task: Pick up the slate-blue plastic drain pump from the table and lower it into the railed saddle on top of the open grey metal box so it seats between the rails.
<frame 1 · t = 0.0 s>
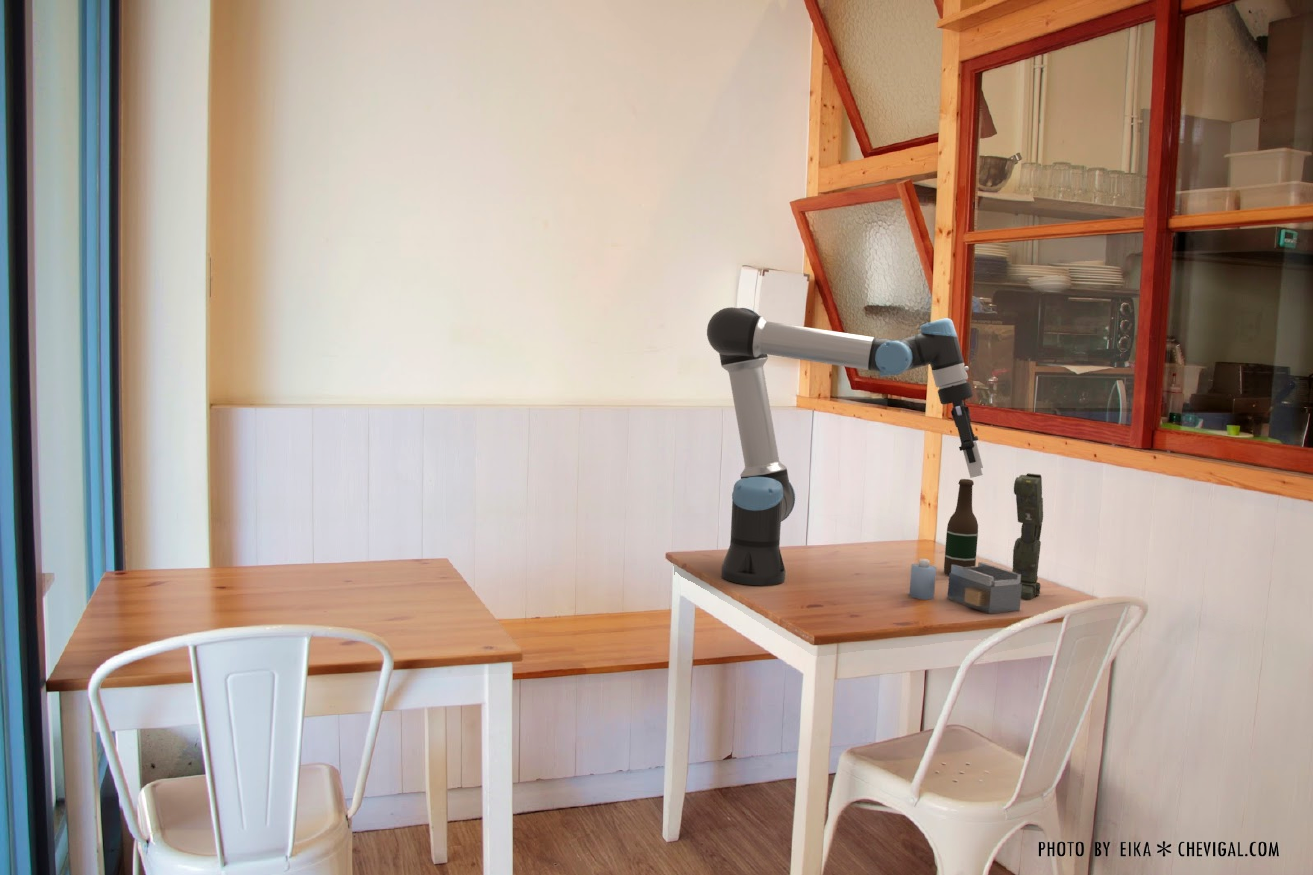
hand: (977, 472, 246), 28 cm above the table, tool tilted 20°, fingers open, 13 cm apart
mechanical leg: (1022, 595, 247), on the table
pump: (921, 596, 241), on the table
open grey metal box: (982, 604, 236), on the table
beer bottle: (959, 575, 264), on the table
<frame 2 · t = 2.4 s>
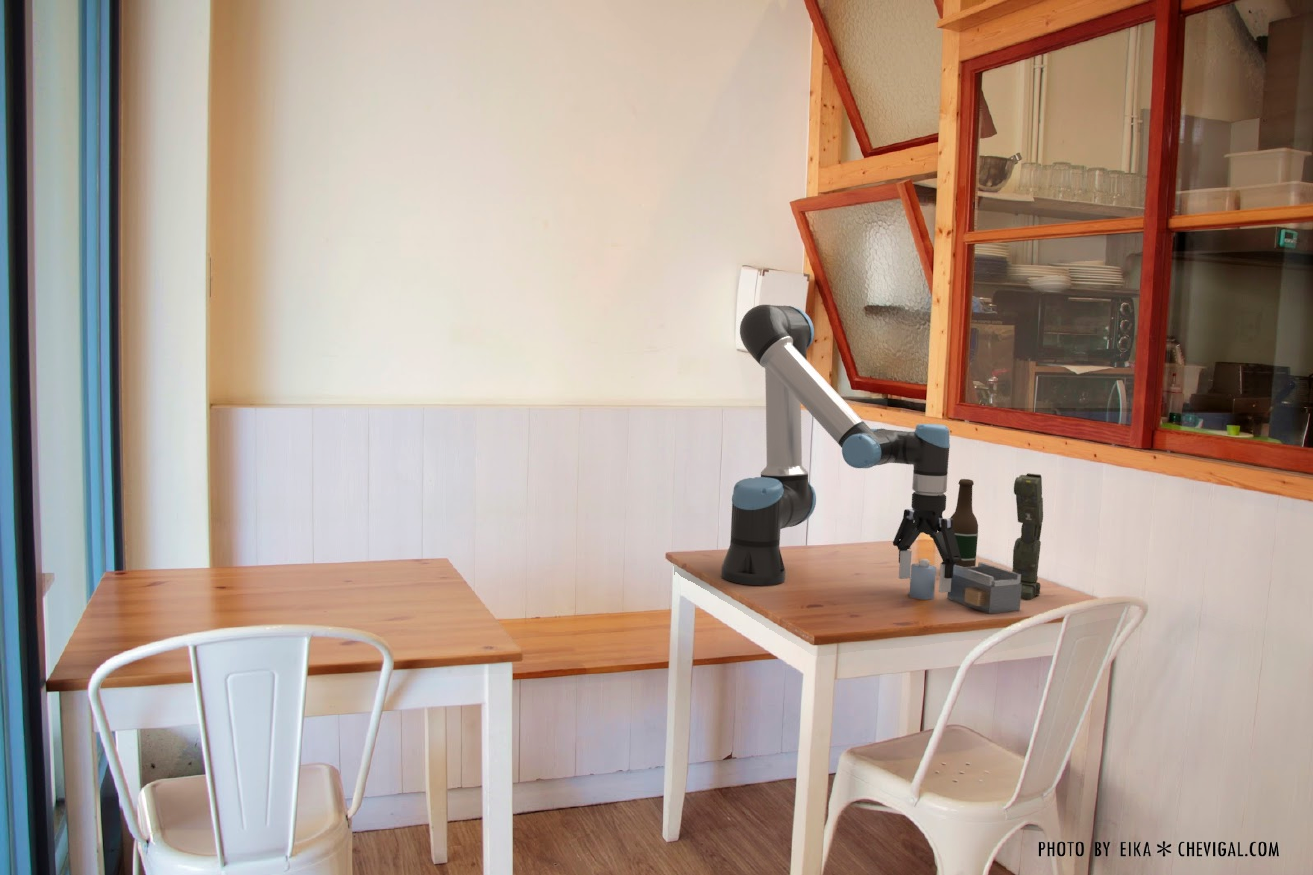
hand: (924, 585, 240), 3 cm above the table, tool pointing down, fingers open, 13 cm apart
nothing on the table moved.
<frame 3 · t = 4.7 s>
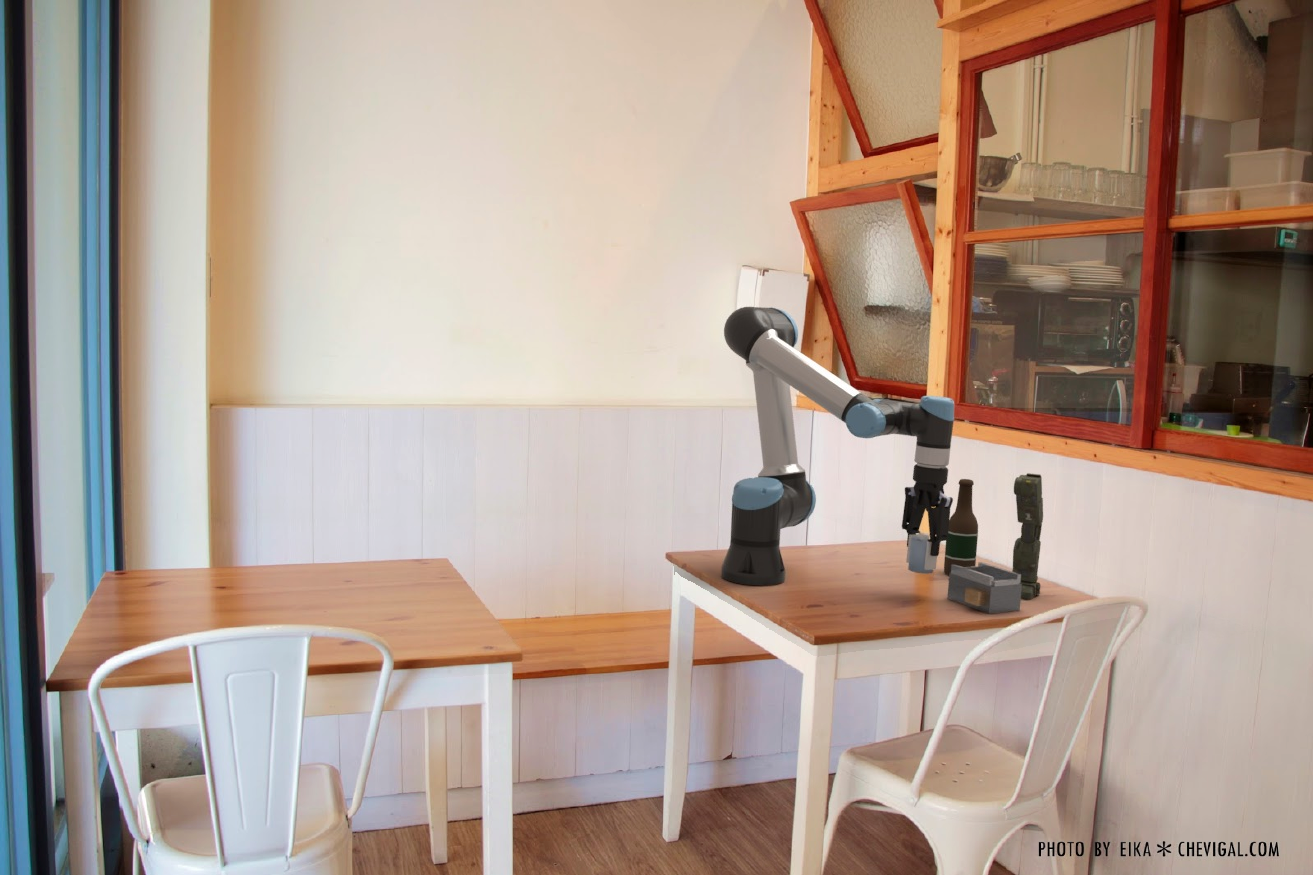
hand: (920, 565, 240), 7 cm above the table, tool pointing down, fingers closed on pump, 5 cm apart
pump: (920, 570, 240), point 6 cm above the table, touching gripper
everything else where it was.
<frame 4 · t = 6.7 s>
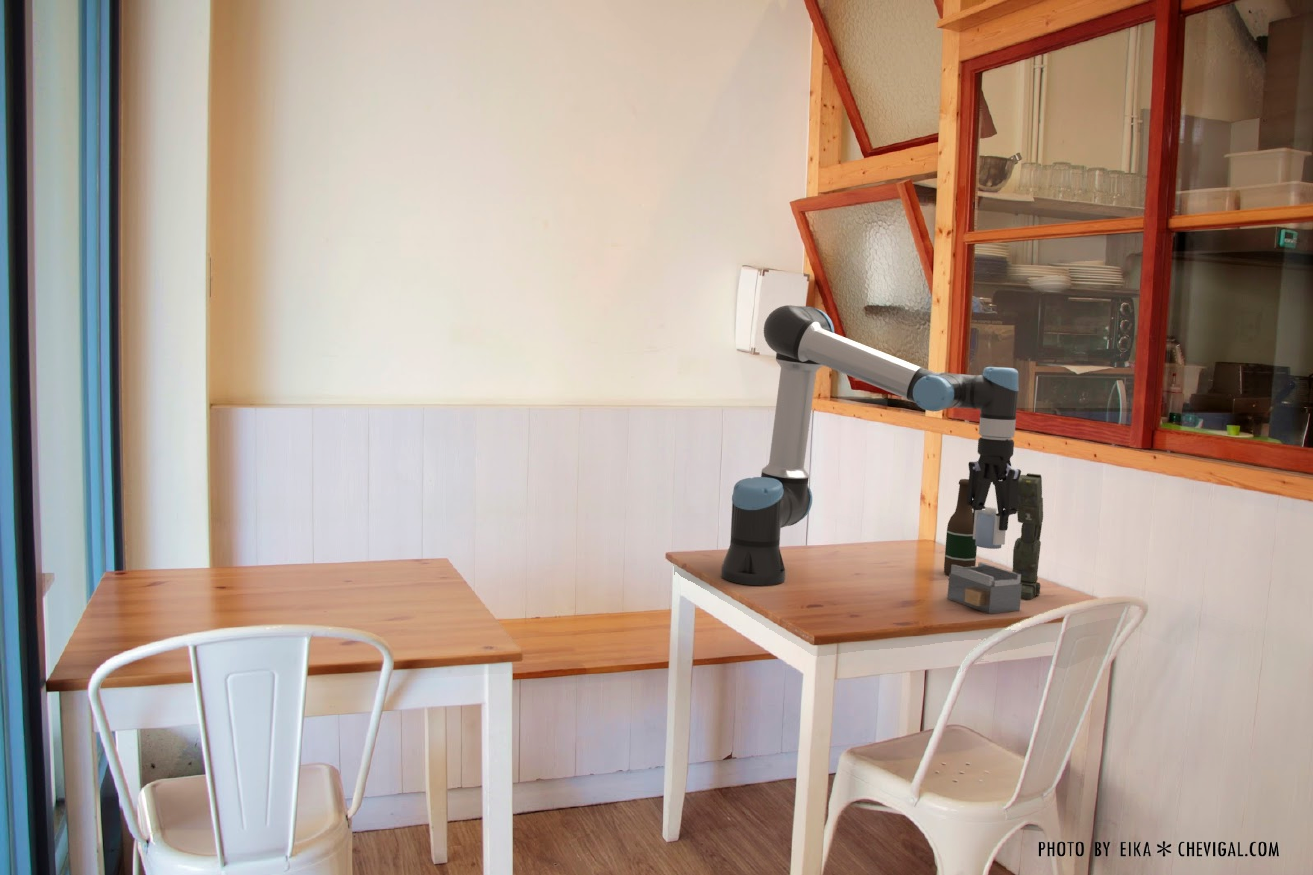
hand: (988, 541, 234), 14 cm above the table, tool pointing down, fingers closed on pump, 5 cm apart
pump: (988, 546, 234), point 13 cm above the table, touching gripper
everything else where it was.
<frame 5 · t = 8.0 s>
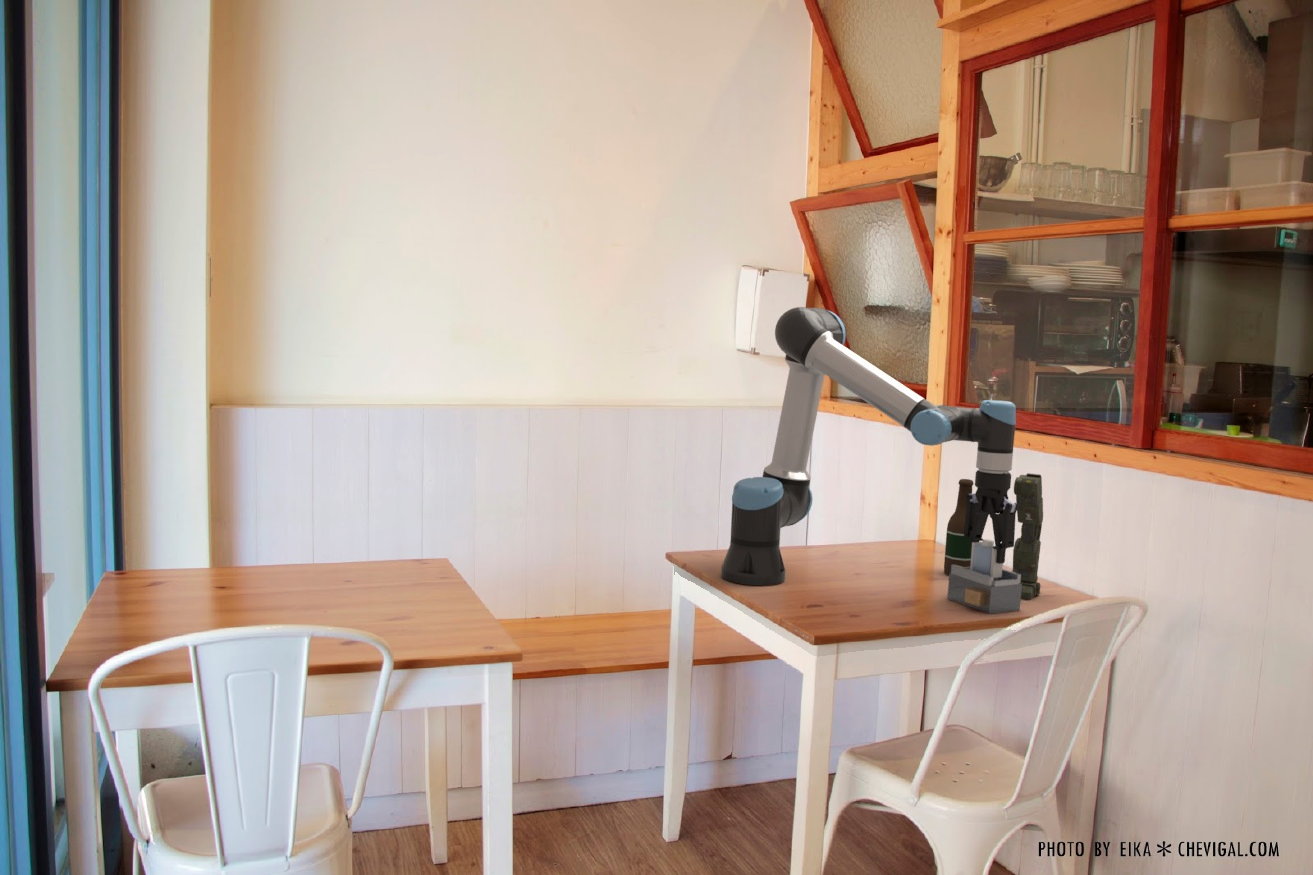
hand: (985, 573, 235), 7 cm above the table, tool pointing down, fingers closed on pump, 5 cm apart
pump: (985, 578, 235), point 6 cm above the table, touching gripper, open grey metal box
everything else where it was.
when the fingers open (7 cm above the table, at t = 8.6 s): pump stays where it is, resting on open grey metal box.
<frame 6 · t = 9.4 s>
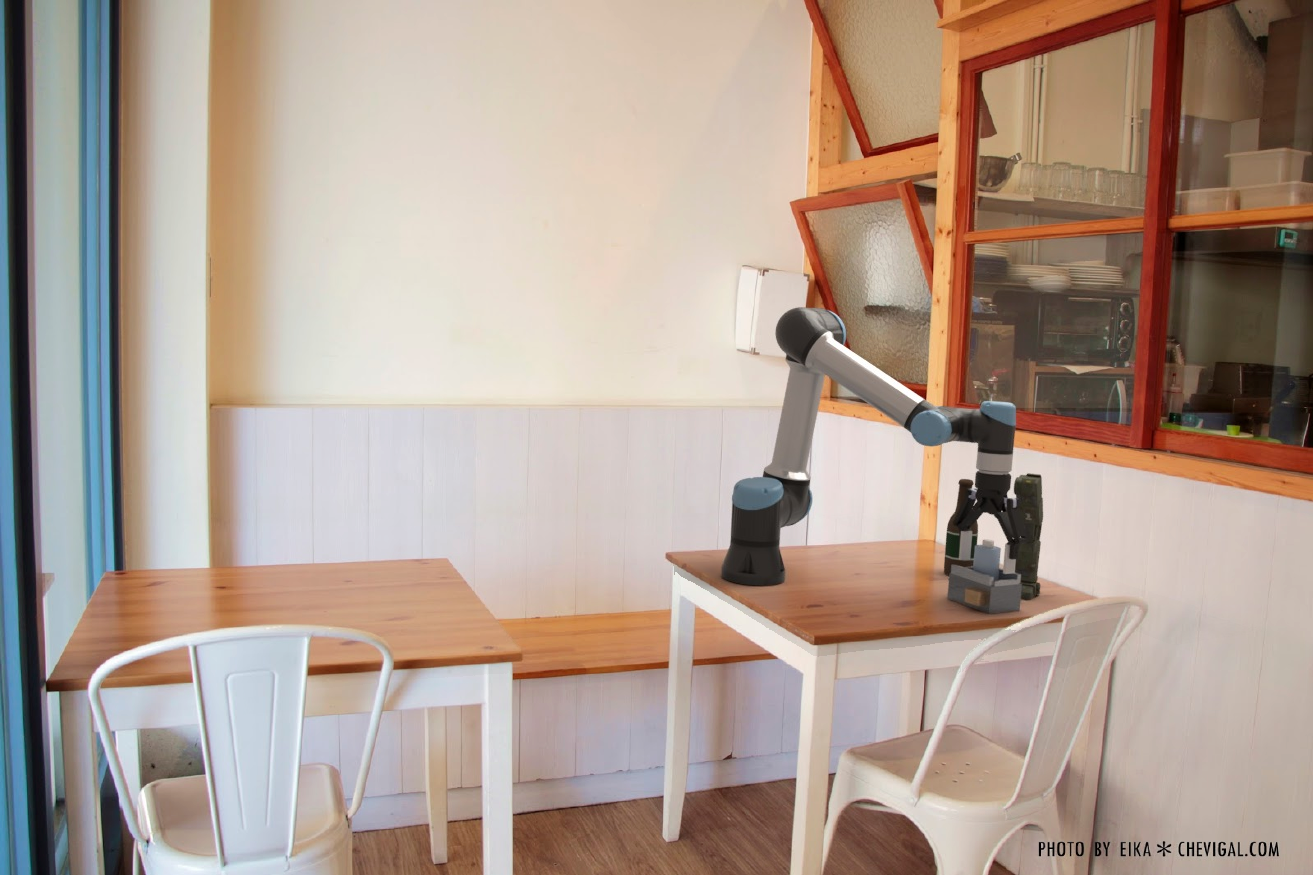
hand: (986, 566, 235), 9 cm above the table, tool pointing down, fingers open, 13 cm apart
pump: (985, 578, 235), point 6 cm above the table, touching open grey metal box
everything else where it was.
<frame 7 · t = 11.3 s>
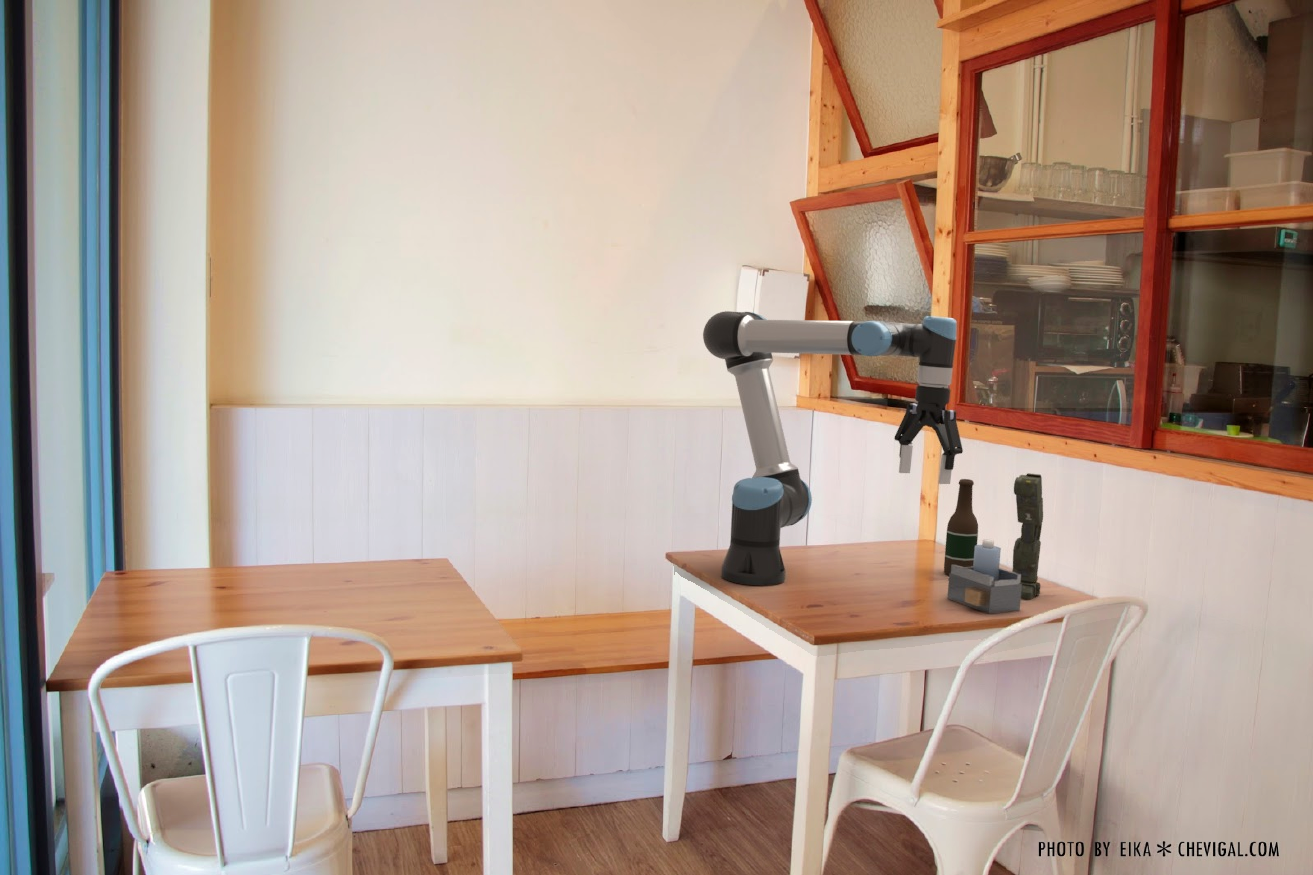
hand: (923, 478, 241), 27 cm above the table, tool pointing down, fingers open, 13 cm apart
nothing on the table moved.
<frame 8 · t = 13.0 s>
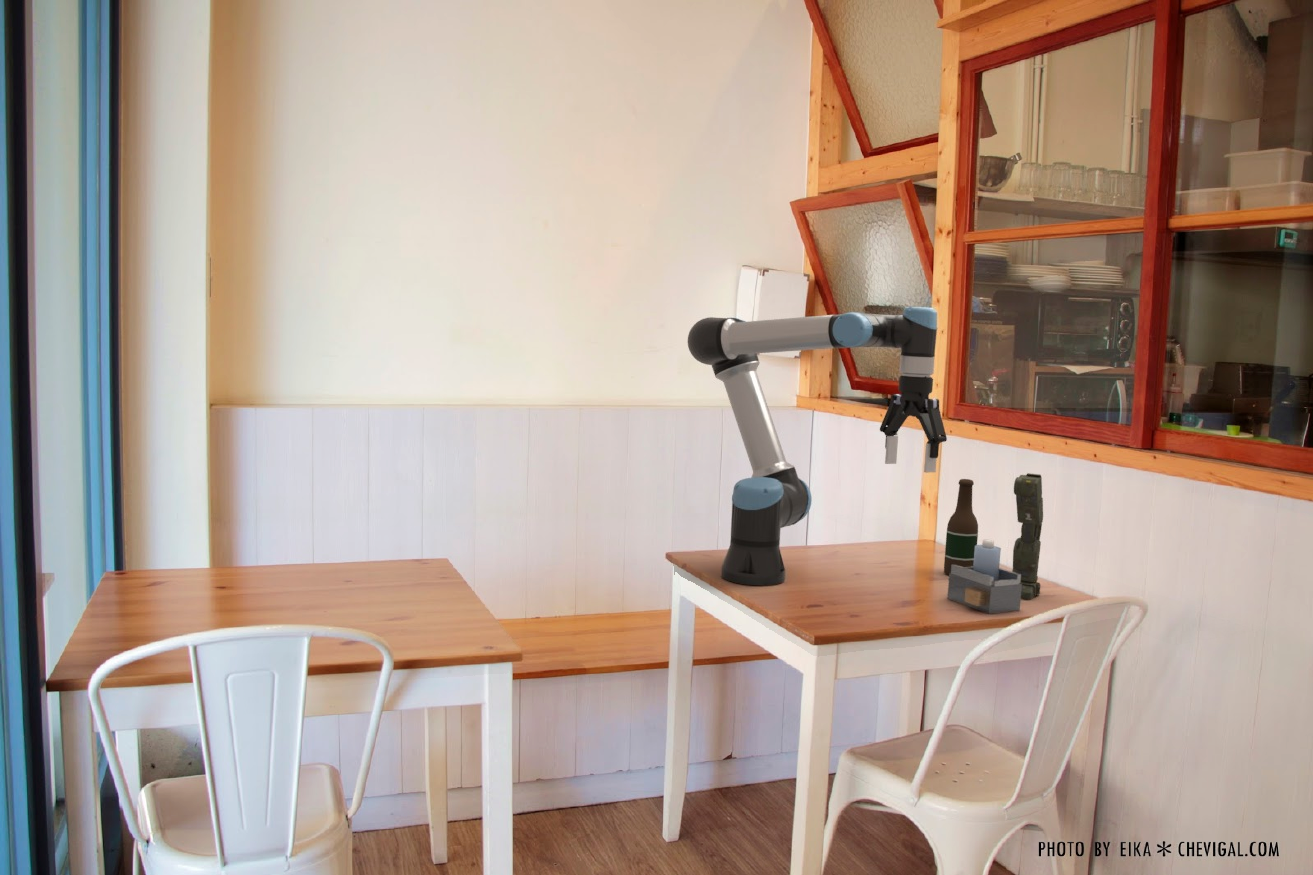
hand: (909, 468, 242), 29 cm above the table, tool pointing down, fingers open, 13 cm apart
nothing on the table moved.
at the end: pump inside the target area on the open grey metal box (0.0 cm from its centre), point 6.0 cm above the open grey metal box's base; pump tilted 0°; the gripper is holding nothing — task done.
